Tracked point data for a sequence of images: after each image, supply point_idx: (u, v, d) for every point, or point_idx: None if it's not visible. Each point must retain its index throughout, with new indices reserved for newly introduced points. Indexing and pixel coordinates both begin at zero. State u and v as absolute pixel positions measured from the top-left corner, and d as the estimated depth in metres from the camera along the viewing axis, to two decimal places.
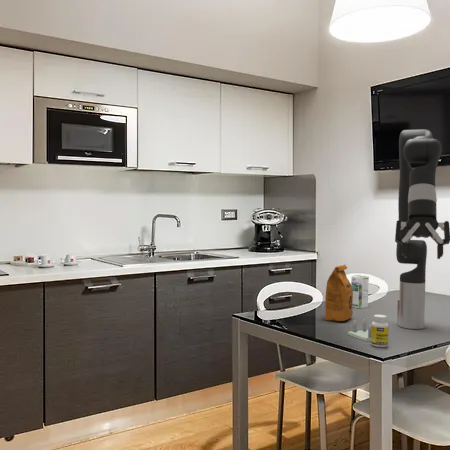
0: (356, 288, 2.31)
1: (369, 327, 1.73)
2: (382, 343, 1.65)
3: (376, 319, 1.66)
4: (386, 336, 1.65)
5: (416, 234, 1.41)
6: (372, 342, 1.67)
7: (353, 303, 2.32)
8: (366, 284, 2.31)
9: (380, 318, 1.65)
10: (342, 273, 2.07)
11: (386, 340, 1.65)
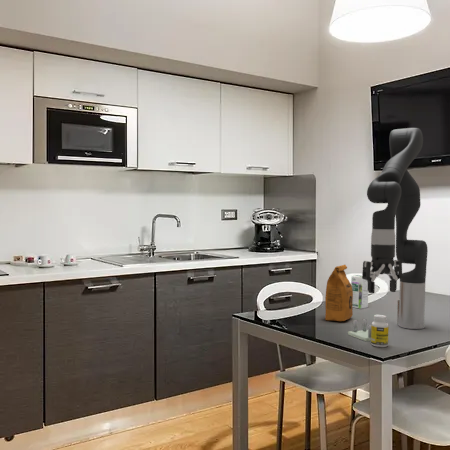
0: (356, 288, 2.31)
1: (369, 327, 1.73)
2: (382, 343, 1.65)
3: (376, 319, 1.66)
4: (386, 336, 1.65)
5: (380, 273, 1.65)
6: (372, 342, 1.67)
7: (353, 303, 2.32)
8: (366, 284, 2.31)
9: (380, 318, 1.65)
10: (342, 273, 2.07)
11: (386, 340, 1.65)
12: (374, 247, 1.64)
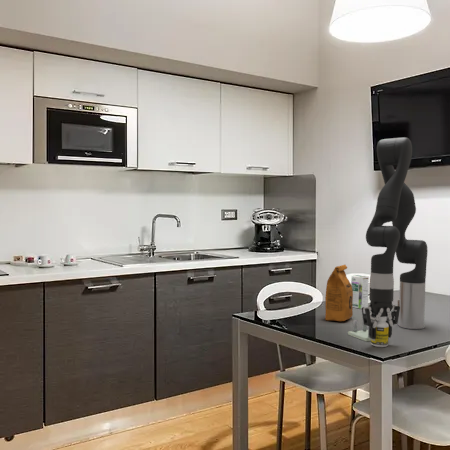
0: (356, 288, 2.31)
1: None
2: (382, 343, 1.65)
3: None
4: (386, 336, 1.65)
5: None
6: (372, 342, 1.67)
7: (353, 303, 2.32)
8: (366, 284, 2.31)
9: (380, 318, 1.65)
10: (342, 273, 2.07)
11: (386, 340, 1.65)
12: (372, 291, 1.65)
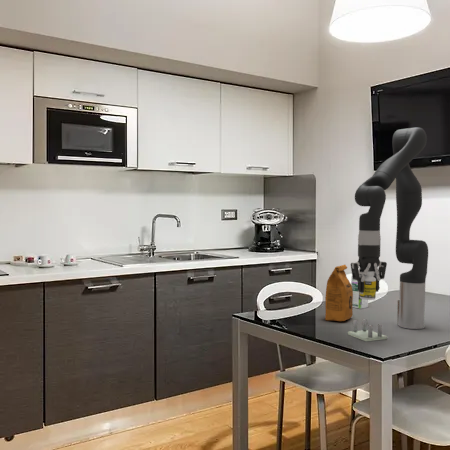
0: (356, 288, 2.31)
1: (369, 327, 1.73)
2: (369, 296, 1.76)
3: None
4: (374, 289, 1.76)
5: None
6: (361, 295, 1.78)
7: (353, 303, 2.32)
8: None
9: (368, 273, 1.76)
10: (342, 273, 2.07)
11: (374, 293, 1.76)
12: (361, 247, 1.76)
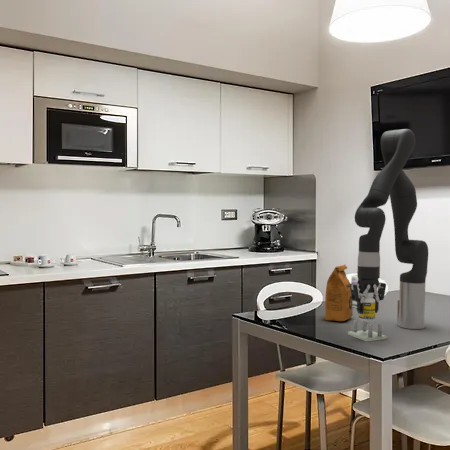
0: None
1: (369, 327, 1.73)
2: (369, 318, 1.76)
3: None
4: (373, 311, 1.76)
5: None
6: (360, 317, 1.78)
7: (353, 303, 2.32)
8: None
9: (367, 294, 1.76)
10: (342, 273, 2.07)
11: (373, 314, 1.76)
12: (360, 269, 1.76)
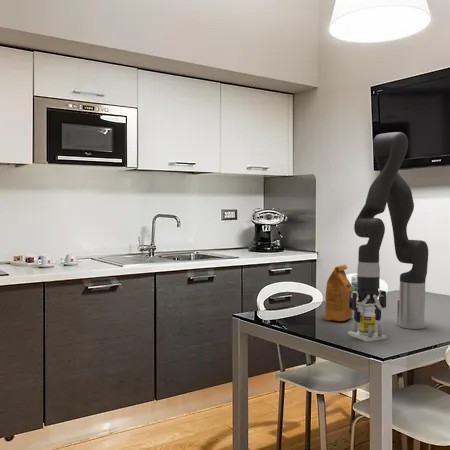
0: (356, 288, 2.31)
1: (369, 327, 1.73)
2: None
3: (364, 309, 1.77)
4: (373, 325, 1.77)
5: None
6: (360, 330, 1.78)
7: None
8: None
9: (367, 308, 1.77)
10: (342, 273, 2.07)
11: (373, 328, 1.77)
12: (360, 279, 1.76)
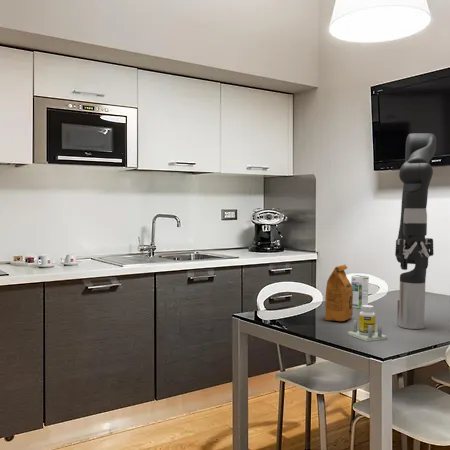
0: (356, 288, 2.31)
1: (369, 327, 1.73)
2: None
3: (363, 309, 1.77)
4: (373, 325, 1.77)
5: (412, 250, 1.73)
6: (360, 330, 1.78)
7: (353, 303, 2.32)
8: (366, 284, 2.31)
9: (367, 308, 1.77)
10: (342, 273, 2.07)
11: (373, 328, 1.77)
12: (407, 226, 1.72)
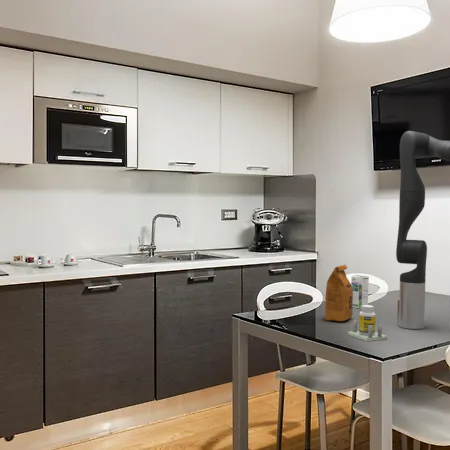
0: (356, 288, 2.31)
1: (369, 327, 1.73)
2: None
3: (364, 309, 1.77)
4: (373, 325, 1.77)
5: None
6: (360, 330, 1.78)
7: (353, 303, 2.32)
8: (366, 284, 2.31)
9: (367, 308, 1.77)
10: (342, 273, 2.07)
11: (373, 328, 1.77)
12: None
